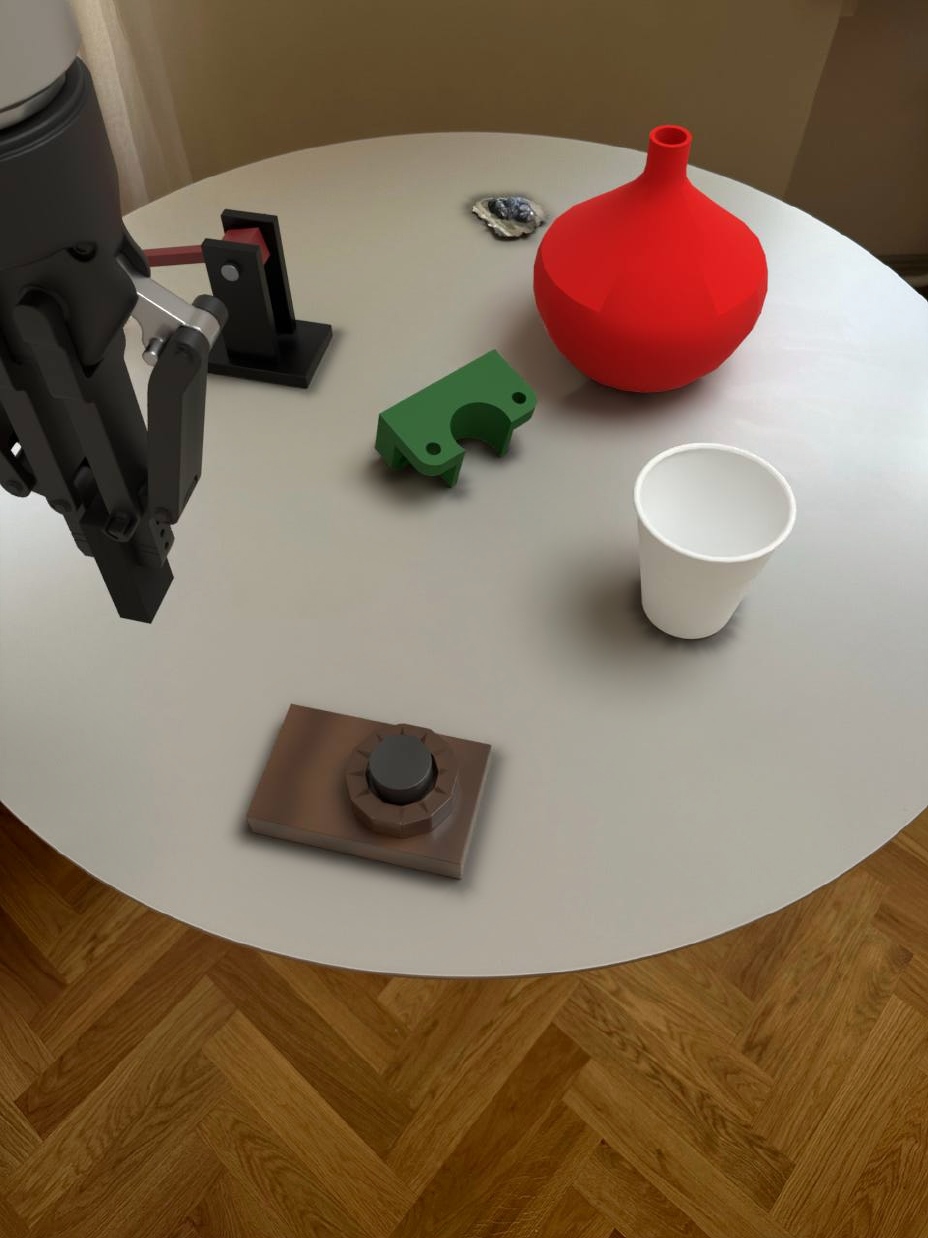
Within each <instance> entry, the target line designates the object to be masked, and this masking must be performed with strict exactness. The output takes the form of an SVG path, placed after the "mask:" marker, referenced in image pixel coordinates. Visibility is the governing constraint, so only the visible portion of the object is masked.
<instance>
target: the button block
mask: <svg viewBox="0 0 928 1238" xmlns="http://www.w3.org/2000/svg"><path fill="white" fill-rule="evenodd" d="M400 734H404V735H410V736H413V737H416V738H418V739H419V740H421V741H422V742H423V743H424V744H425V745H426V746H427V747H428V749H429V751H430V753H431V757H432V770H433V778H432V782H431V785H430V787H429V789H428V790H427V791H426V792H425V793H424V794H423V795H422V796H421V797H419V798H418V799H416V800H414V801H411V802H407V803H395V802H391V801H388V800H386V799H384V798H383V797H381V796H380V795H379V794H378V793H377V792H376V790H375V789H374V787H373V784H372V780H371V774H370V768H369V759H370V755H371V753H372V751H373V749H374V748H375V746H376V745H377V744H378V743H379V742H381V741H382V740H384V739H385V738H387V737H390V736H393V735H400ZM491 764H492V744H489V743H486V742H485V743H484V742H479V741H476V740H470V739H466V738H461V737H455V736H451V735H446V734H441V733H436V732H435V731H434V730H432V729H431V728H428V727H423V726H418V725H414V724H408V723H401V722H400V723H398V724H393V723H387V722H382V721H378V720H373V719H368V718H364V717H358V716H354V715H348V714H344V713H339V712H334V711H330V710H329V711H328V710H324V709H320V708H315V707H309V706H305V705H299V704H295V703H290V705H289V707H288V710H287V712H286V715H285V717H284V720H283V723H282V725H281V728H280V731H279V732H278V735H277V738H276V740H275V743H274V745H273V748H272V750H271V753H270V755H269V758H268V761H267V763H266V766H265V768H264V769H263V774H262V776H261V778H260V780H259V783H258V785H257V788H256V791H255V793H254V795H253V799H252V800H251V803H250V806H249V809H248V811H247V814H246V819H247V821H248V824H249V827H250V829H251V832H252V833H255V834H259V835H265V836H268V837H272V838H273V837H274V838H277V839H281V840H286V841H291V842H295V843H298V844H303V845H308V846H312V847H316V848H321V849H325V850H330V851H335V852H339V853H343V854H346V855H347V854H348V855H352V856H356V857H360V858H366V859H370V860H375V861H379V862H383V863H387V864H392V865H396V866H401V867H404V868H405V867H406V868H410V869H414V870H419V871H421V872H427V873H431V874H436V875H440V876H445V877H449V878H454V879H458V880H462V878H463V875H464V870H465V866H466V862H467V859H468V856H469V855H468V854H469V851H470V846H471V843H472V839H473V835H474V832H475V827H476V823H477V820H478V815H479V812H480V807H481V804H482V801H483V795H484V792H485V788H486V785H487V780H488V777H489V773H490V768H491Z"/></svg>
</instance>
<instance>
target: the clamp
mask: <svg viewBox="0 0 928 1238" xmlns="http://www.w3.org/2000/svg"><path fill="white" fill-rule="evenodd" d="M537 404H538V396H537V394H536V392H535V390H534V389H533V388H532V387H531V386H530V385H529V384H528V383H527V382H526V381H525V379H524V378H522V376H520V374H519V373H518V372H517V371H516V370H515V369H514V368H513V367H512V366H511V365H510V363H508V361H506V359H505V358H504V357H503V356H502V355H501V354H500V353H499V352H498V351H497V350H496V348H493V349H492V350H490V351H488V352H486V353H484V354H482V355H481V356H479V357H477V358H475V359H473V360H472V361H470V362H468V363H466V364H464V365H463V366H462V367H459V368H458V369H456V370H454V371H452V372H451V373H449V374H447V375H445V376H443V377H442V378H440V379H438V380H436V381H435V382H432V383H431V384H429V385H427V386H426V387H424V388H422V389H420V390H418V391H417V392H415V393H413V394H412V395H410V396H407V397H406V398H404V399H403V400H401V401H399V402H397V403H395V404H394V405H392V406H390V407H388V408H387V409H385V410H383V411H382V412H379V413H378V417H377V428H376V434H375V442H374V449H375V451H376V452H377V453H378V455H379V456H380V457H381V458H382V460H384V462H385V463H386V464H387V465H388V467H390V469H391V470H393V471H399V470H402V469H403V468H405V467H407V466H409V465H412V466H413V467H414V469H415V470H416V471H417V472H419V474H422V475H424V476H427V477H436V476H440V477H441V478H442V479H443V480H444V481H445V482H446V484H447V485H448V486H449V488H453V487H454V486H456V485H458V481H459V477H460V473H461V469H462V465H463V461H464V457H465V455H466V449H465V448H463V447H462V446H461V445H460V444H458V442H457V441H458V440H462V439H477V440H480V441H483V442H485V443H487V444H489V445H490V446H491V447H492V448H493V449H494V450H495V451H496V453H498V455H499V457H500V458H502V457H503V456H505V455H507V451H508V449H509V445H510V442H511V440H512V439H511V438H512V436H513V433H514V430H516V429H518V428H519V427H521V426H522V425H524V424H526V423H528V422H529V421H530V420H531V419H532V417H533V416H534V413H535V409H536V407H537Z"/></svg>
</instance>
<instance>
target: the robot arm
mask: <svg viewBox="0 0 928 1238" xmlns="http://www.w3.org/2000/svg"><path fill="white" fill-rule="evenodd" d="M81 43H82V35H81V31H80V26H79V22H78V19H77V15H76V12H75V8H74V4H73V1H72V0H0V486H1V488H3V490H4V491H5V492H7V493H9V494H10V495H12V496H14V497H16V498H22V499H24V498H28V496H30V494H31V493H35V494H37V495H40V496H42V497H44V498H45V500H46V502H47V504H48V505H49V508H50V509H52V510H53V511H55V512H56V513H57V514H59V515H61V516H62V517H63V519H64V521H65V523H66V526H67V527H68V530H69V532H70V534H71V536H72V538H73V541H74V543H75V546H76V547H77V549H78V550H79V551H80V552H81V554H83V555H84V557H89V558H93V559H94V561H95V563H96V566H97V568H98V570H99V572H100V575H101V577H102V580H103V582H104V584H105V587H106V589H107V592H108V593H109V595H110V598H111V600H112V602H113V605H114V607H115V610H116V612H117V614H118V617H119V618H120V619H125V620H129V621H134V622H139V623H145V624H149V625H152V624H153V621H154V619H155V618H156V615H157V613H158V611H159V609H160V608H161V605H162V603H163V601H164V599H165V597H166V595H167V593H168V591H169V589H170V587H171V585H172V584H173V581H174V580H175V576H174V573H173V570H172V568H171V564H170V562H169V559H168V555H169V553H170V551H171V550H172V548H173V546H174V543H175V539H176V538H175V535H174V531H173V528H172V525H176V524H178V522H179V520H180V518H181V516H182V515H183V513H184V511H185V509H186V506H187V505H188V503H189V501H190V499H191V497H192V495H193V493H194V491H195V490H196V487H197V485H198V484H199V481H200V479H201V478H202V472H203V471H202V470H203V454H204V437H205V436H204V434H205V419H206V418H205V417H206V401H207V385H208V383H207V382H208V372H207V368H208V353H209V351H210V349H211V348H212V346H213V344H214V342H215V341H216V339H217V337H218V335H219V334H220V332H221V330H222V328H223V327H224V325H225V323H226V321H227V319H228V310H227V308H226V307H225V305H224V303H222V302H221V301H220V300H219V299H218V298H216V297H214V296H213V294H206V293H203V294H199V295H197V296H196V297H195V298H194V299H193V301H192V302H191V303H189V302H188V301H186V300H185V299H184V298H182V297H180V296H179V295H177V294H175V293H174V292H173V291H171V290H170V289H168V288H167V287H165V286H163V285H162V284H160V283H159V282H157V280H154V279H153V278H152V271H151V267H150V265H149V262H148V259H147V257H146V255H145V253H144V252H143V250H144V249H143V248H140V247H141V246H140V247H139V243H138V242H137V241H135V239H134V237H133V236H132V235H131V233H130V231H129V230H128V229H127V226H126V225H125V222H124V219H123V214H122V208H121V195H120V181H119V179H120V178H119V174H118V168H117V163H116V160H115V157H114V154H113V149H112V146H111V142H110V138H109V135H108V131H107V128H106V124H105V120H104V117H103V113H102V110H101V106H100V102H99V98H98V96H97V91H96V88H95V84H94V82H93V77H92V74H91V71H90V70H89V67H88V65H86V63H85V62H84V61H83V59H82V58H80V56H78V55H79V53H80V52H79V51H80V48H81ZM130 317H132V318H134V320H136V322H137V323H138V325H139V326H140V329H141V342H142V345H143V347H144V350H143V352H142V354H141V358H142V360H143V362H144V363H145V364H146V365H148V366H150V367H153V368H152V370H151V372H150V375H149V378H148V382H147V390H146V391H147V392H146V393H147V394H146V410H147V413H146V417H147V419H146V420H147V421H146V422H147V424H146V423H145V420H144V417H143V413H142V410H141V407H140V404H139V400H138V397H137V394H136V392H135V388H134V384H133V382H132V378H131V376H130V373H129V369H128V366H127V364H126V361H125V351H126V346H127V338H126V333H125V330H124V328H125V326H126V324H127V322H128V321H129V319H130ZM146 425H147V426H146ZM16 444H18V445H19V446H20V448H19V450H18V451H17V452H16V454H15V453H14V452H13V451H12V450H13V448H14V447H15V445H16Z"/></svg>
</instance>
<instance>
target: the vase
mask: <svg viewBox="0 0 928 1238" xmlns="http://www.w3.org/2000/svg"><path fill="white" fill-rule="evenodd" d="M692 140H693V136H692V133H691V132H690V131H689V130H688V129H687V128H685V127H682V126H679V125H672V124H666V125H665V124H664V125H660V126H657V127H655V128H653V129H652V130H651V131H650V132H649V139H648V146H647V153H646V159H645V165H644V168H643V172H641V174H639V175H638V176H637V177H636V178H635V179H633V180H631V181H629V182H627V183H624V184H622V185H620V186H617V187H616V188H613V189H612V190H609V191H607V192H604V193H601V194H599V195H596V196H593V197H591V198H589V199H586V200H584V201H582V202H579V203H577V204H575V205H572V206H571V207H569V208H568V209H567V210H565V211H564V212H563V213H562V214H560V215H559V216H558V217H556V218H555V219H554V221H553V222H552V223H551V225H550V226H549V228H548V229H547V230H546V232H545V233H544V235H543V237H542V239H541V240H540V243H539V245H538V247H537V251H536V254H535V259H534V262H533V274H532V279H533V280H532V289H533V296H534V301H535V306H536V309H537V311H538V314H539V316H540V318H541V320H542V323H543V325H544V328H545V329H546V332H547V334H548V337H549V338H550V339H551V341H552V343H553V344H554V346H555V347H556V349H557V351H558V352H559V353H560V354H561V355H562V356H563V357H564V358H565V359H566V360H567V361H569V363H570V364H571V365H573V367H575V368H576V369H577V370H578V371H579V372H581V374H583V376H585V377H587V378H589V379H591V380H593V381H595V382H597V383H599V384H601V385H603V386H607V387H610V388H613V389H617V390H620V391H626V392H632V393H633V392H634V393H643V394H644V393H645V394H647V393H660V392H667V391H670V390H675V389H678V388H679V389H680V388H683V387H685V386H687V385H689V384H690V383H693V382H695V381H697V380H699V379H701V378H702V377H704V376H707V375H709V373H712V372H713V371H716V370H717V369H718V368H719V367H720V366H721V365H722V364H723V363H725V361H727V360H728V359H729V358H730V357H731V356H732V355H733V354H734V353H735V351H736V350H737V349H738V348H739V347H740V345H741V344H742V343H743V342H744V341H745V340H746V339H747V337H748V336H749V335H750V334H751V333H752V332H753V330H754V328H755V326H756V324H757V322H758V321H759V318H760V315H761V314H762V311H763V307H764V304H765V300H766V297H767V295H768V291H769V290H768V289H769V268H768V263H767V255H766V253H765V250H764V248H763V245H762V243H761V241H760V239H759V237H758V235H756V234H755V233H754V231H753V230H752V229H751V228H750V226H748V224H747V223H746V222H745V221H743V220H742V219H740V218H739V217H737V216H736V215H735V214H733V213H731V212H730V211H729V210H727V209H726V208H725V207H722V206H721V205H720V204H719V203H716V202H715V201H714V200H712V199H711V198H710V197H709V196H707V195H706V194H705V193H704V192H702V191H701V190H699V189H698V188H697V187H696V186H694V185H693V184H692V182H691V180H690V179H689V178H688V172H687V171H688V169H687V168H688V163H689V157H690V151H691V145H692Z"/></svg>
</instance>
